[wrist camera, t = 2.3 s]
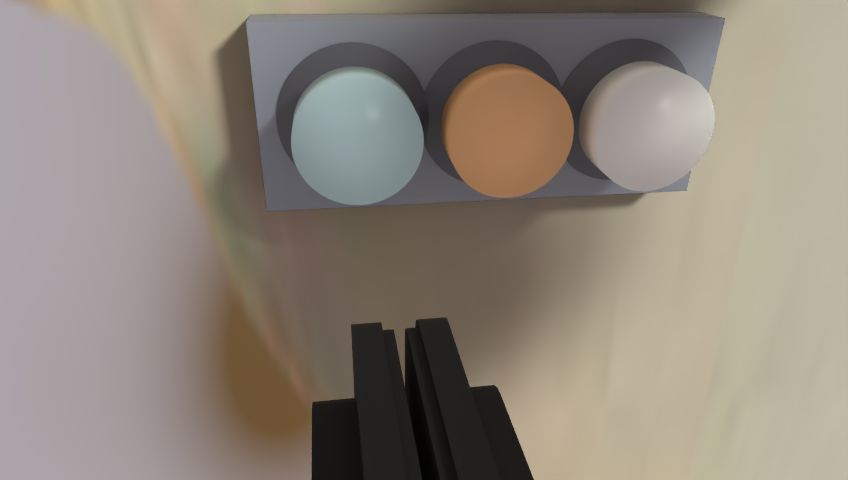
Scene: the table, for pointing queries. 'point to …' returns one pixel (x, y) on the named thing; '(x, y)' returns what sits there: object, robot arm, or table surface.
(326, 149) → the teal button
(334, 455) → the robot arm
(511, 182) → the orange button
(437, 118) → the button panel
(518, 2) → the table surface
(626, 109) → the cream button
